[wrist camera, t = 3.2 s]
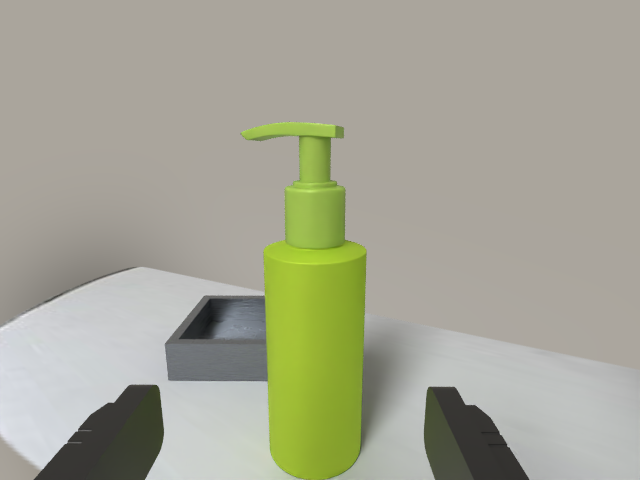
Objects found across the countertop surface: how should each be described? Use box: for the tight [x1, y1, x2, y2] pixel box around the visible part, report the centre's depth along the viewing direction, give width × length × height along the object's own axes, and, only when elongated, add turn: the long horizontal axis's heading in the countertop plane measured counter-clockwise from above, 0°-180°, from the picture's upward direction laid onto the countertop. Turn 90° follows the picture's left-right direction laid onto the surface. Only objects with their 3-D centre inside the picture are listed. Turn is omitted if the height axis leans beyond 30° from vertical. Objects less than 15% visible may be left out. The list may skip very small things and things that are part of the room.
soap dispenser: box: [241, 122, 366, 480], centre depth 23 cm, size 6×7×20 cm
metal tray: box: [165, 296, 268, 381], centre depth 36 cm, size 12×11×3 cm
